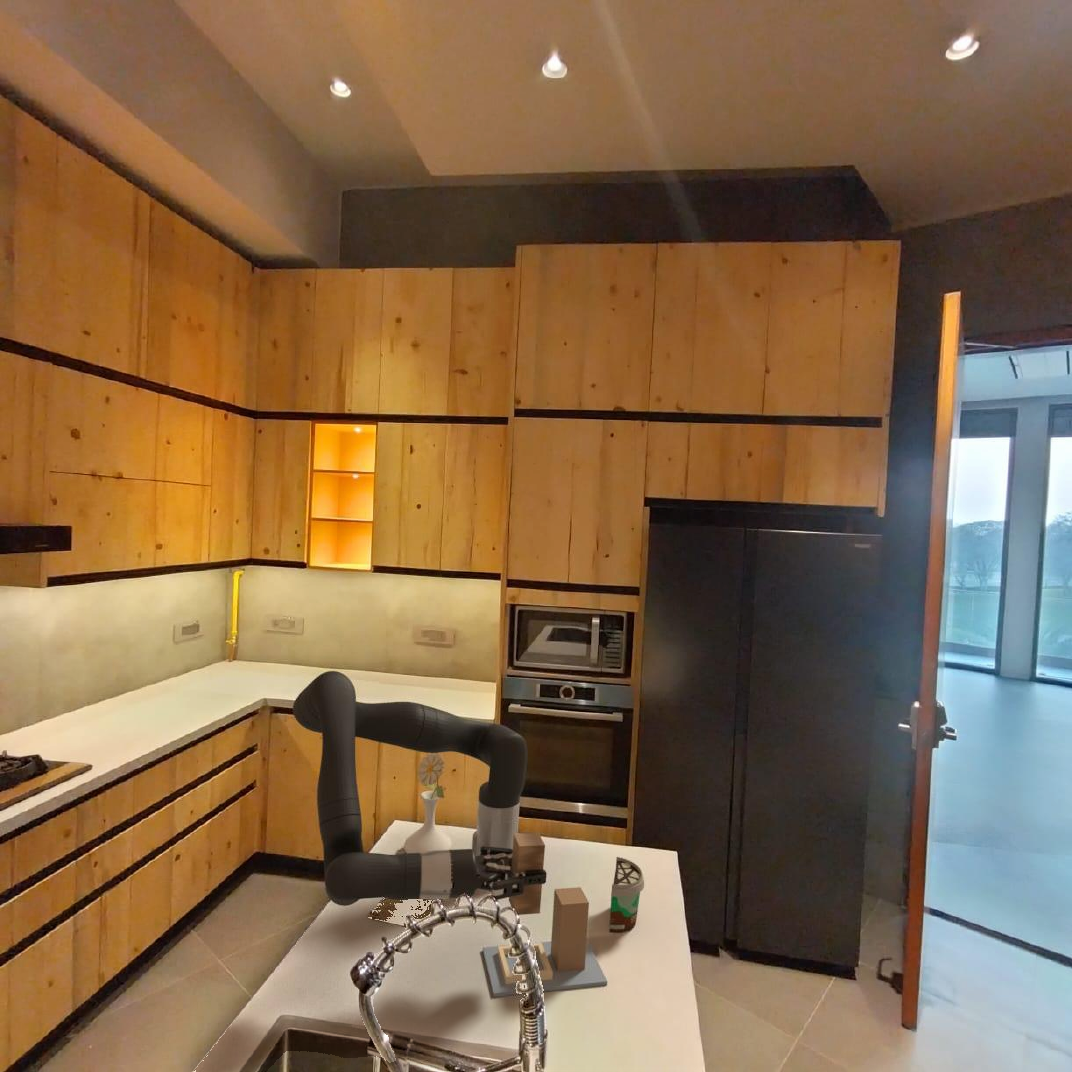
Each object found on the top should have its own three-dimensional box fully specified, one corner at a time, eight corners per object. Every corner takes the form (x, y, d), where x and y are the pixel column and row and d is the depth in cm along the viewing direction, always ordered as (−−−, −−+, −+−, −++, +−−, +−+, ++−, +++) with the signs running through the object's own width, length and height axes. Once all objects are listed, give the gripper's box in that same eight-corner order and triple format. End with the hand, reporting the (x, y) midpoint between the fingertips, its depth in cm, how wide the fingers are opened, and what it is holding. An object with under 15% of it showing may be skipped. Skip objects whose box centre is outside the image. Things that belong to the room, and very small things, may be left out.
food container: (640, 942, 126) (643, 891, 126) (608, 936, 127) (611, 885, 127) (643, 907, 138) (646, 860, 138) (613, 902, 139) (616, 855, 139)
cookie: (422, 933, 126) (422, 928, 126) (364, 920, 128) (365, 915, 128) (445, 899, 137) (445, 895, 137) (391, 888, 140) (392, 884, 140)
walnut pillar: (514, 915, 113) (519, 846, 113) (508, 900, 118) (513, 833, 118) (539, 913, 115) (545, 845, 114) (533, 898, 119) (538, 832, 119)
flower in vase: (398, 844, 158) (404, 742, 158) (444, 838, 163) (450, 738, 163) (411, 872, 146) (417, 760, 146) (459, 864, 151) (466, 756, 151)
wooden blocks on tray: (493, 996, 109) (498, 922, 109) (482, 950, 121) (486, 883, 121) (607, 984, 114) (611, 912, 114) (586, 941, 125) (590, 876, 125)
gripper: (440, 873, 120) (531, 868, 124) (449, 920, 106) (551, 913, 110) (443, 832, 120) (534, 829, 124) (452, 874, 106) (554, 868, 110)
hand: (541, 868), depth 117 cm, fingers closed on walnut pillar, 4 cm apart
